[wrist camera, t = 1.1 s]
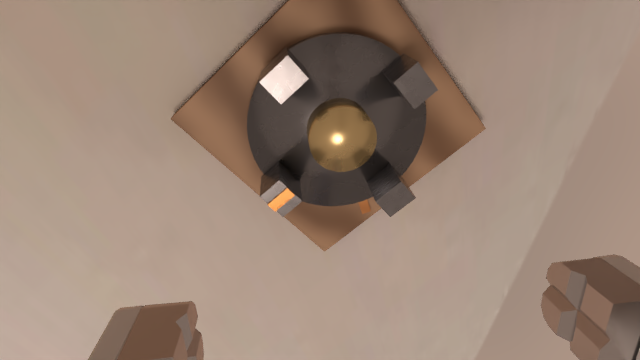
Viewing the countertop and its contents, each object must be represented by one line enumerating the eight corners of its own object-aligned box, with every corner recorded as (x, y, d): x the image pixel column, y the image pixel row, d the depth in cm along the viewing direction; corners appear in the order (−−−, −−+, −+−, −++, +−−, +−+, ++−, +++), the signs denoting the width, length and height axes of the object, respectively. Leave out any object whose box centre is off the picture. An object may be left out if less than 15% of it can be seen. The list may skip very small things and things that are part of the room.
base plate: (349, -62, 32) (353, -64, 30) (479, 123, 41) (487, 129, 40) (174, 113, 37) (169, 119, 36) (323, 243, 46) (324, 253, 45)
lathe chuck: (349, -17, 32) (362, -16, 27) (456, 128, 39) (482, 149, 34) (206, 121, 36) (195, 143, 31) (326, 229, 43) (333, 261, 39)
